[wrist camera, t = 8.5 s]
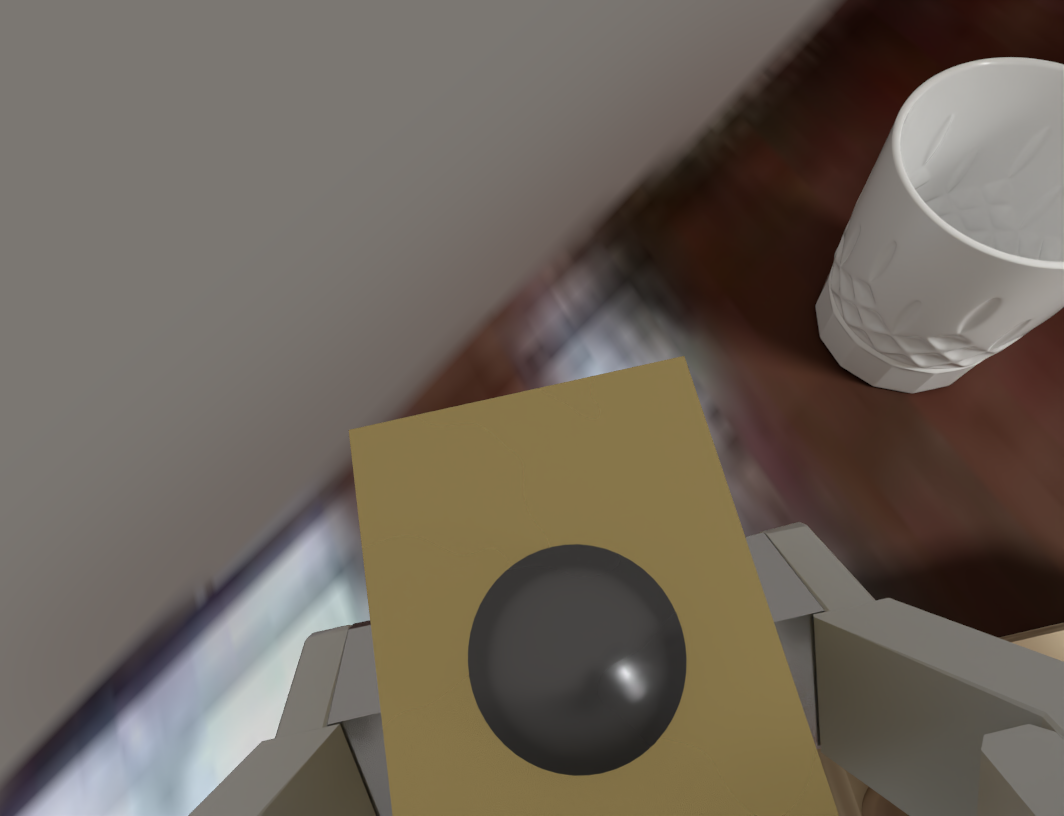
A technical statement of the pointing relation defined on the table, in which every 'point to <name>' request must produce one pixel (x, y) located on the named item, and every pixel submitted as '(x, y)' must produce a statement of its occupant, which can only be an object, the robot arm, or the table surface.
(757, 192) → the table surface
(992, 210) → the white cup
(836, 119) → the table surface
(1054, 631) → the body
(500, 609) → the brass knob block
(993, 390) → the table surface
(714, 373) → the table surface
